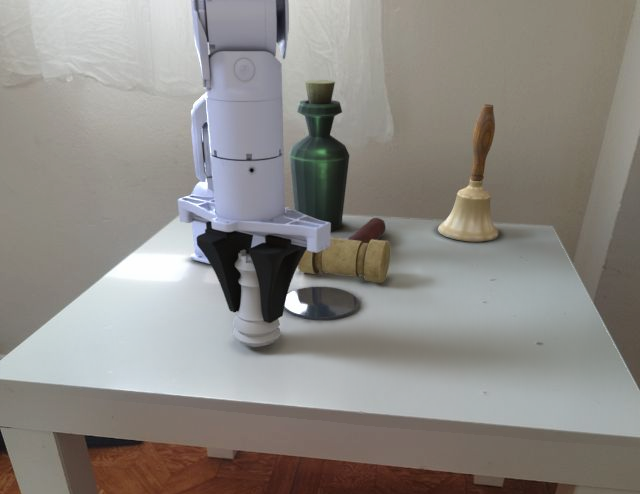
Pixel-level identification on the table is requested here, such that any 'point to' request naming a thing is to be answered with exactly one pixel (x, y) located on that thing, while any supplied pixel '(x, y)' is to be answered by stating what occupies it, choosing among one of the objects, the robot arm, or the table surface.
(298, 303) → the coaster
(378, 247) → the gavel
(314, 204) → the potion bottle
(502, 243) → the table surface
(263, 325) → the rook chess piece
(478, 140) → the hand bell
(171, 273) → the table surface
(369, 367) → the table surface
